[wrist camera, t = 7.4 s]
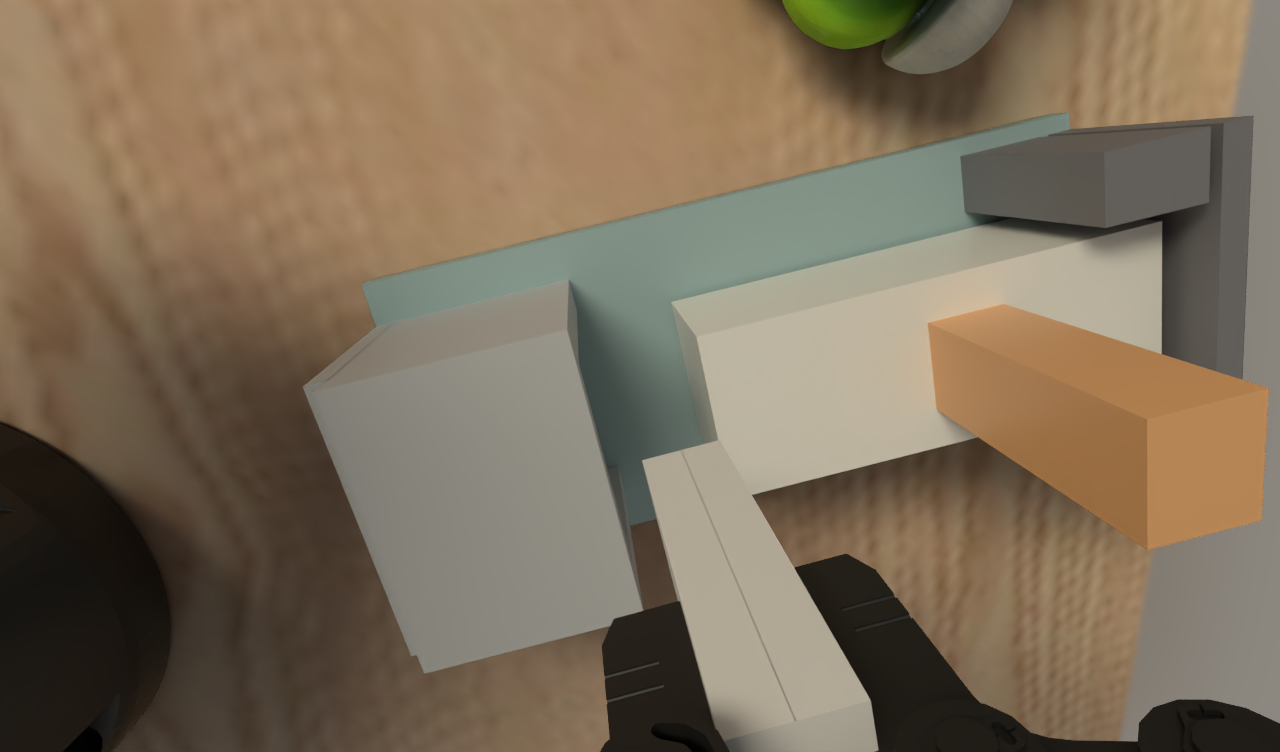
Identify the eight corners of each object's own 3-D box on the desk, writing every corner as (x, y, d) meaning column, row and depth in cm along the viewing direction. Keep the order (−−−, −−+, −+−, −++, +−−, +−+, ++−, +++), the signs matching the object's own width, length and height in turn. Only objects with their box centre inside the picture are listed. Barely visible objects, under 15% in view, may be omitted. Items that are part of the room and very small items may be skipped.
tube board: (466, 553, 25) (421, 720, 17) (370, 279, 22) (264, 340, 14) (1060, 402, 25) (1266, 502, 18) (1047, 114, 22) (1290, 88, 15)
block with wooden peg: (700, 435, 23) (821, 689, 12) (671, 301, 21) (775, 446, 10) (1049, 348, 23) (1488, 515, 12) (1042, 210, 22) (1533, 255, 11)
